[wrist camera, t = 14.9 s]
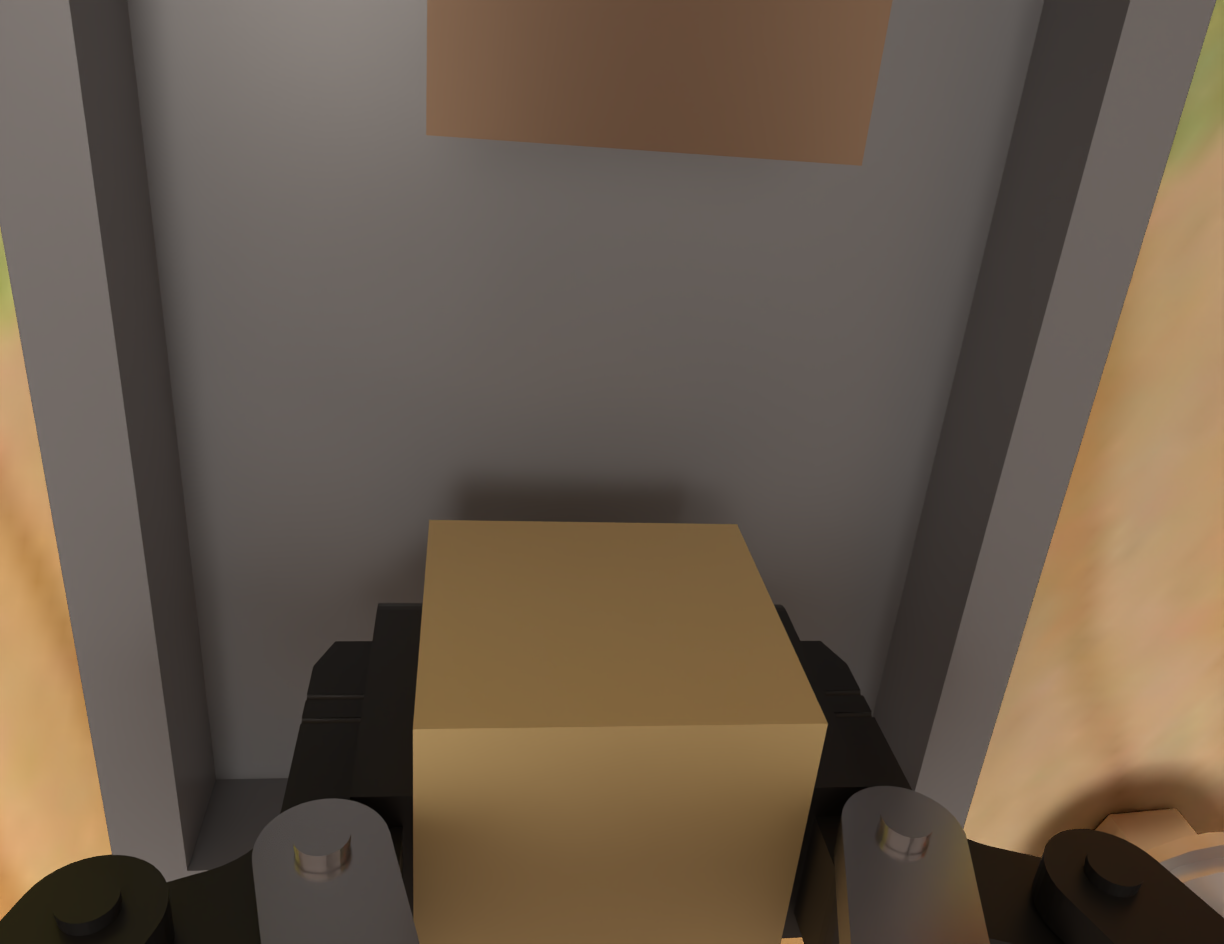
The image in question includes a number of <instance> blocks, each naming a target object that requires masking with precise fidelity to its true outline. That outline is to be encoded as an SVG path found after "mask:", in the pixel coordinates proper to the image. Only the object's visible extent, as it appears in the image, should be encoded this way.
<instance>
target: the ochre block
mask: <svg viewBox="0 0 1224 944" xmlns="http://www.w3.org/2000/svg"><path fill="white" fill-rule="evenodd" d="M827 726H828V723H827V720H826V718H825V716H824V714H823V712H822V709H821V707H820V705H819V703H818V701H817V698H816V696H815V694H814V692H813V690H812V687H811V685H810V683H809V681H808V679H807V677H806V674H805V672H804V670H803V668H802V666H801V663H800V661H799V659H798V657H797V655H796V652H795V650H794V648H793V646H792V644H791V641H790V639H789V637H788V635H787V633H786V630H785V628H784V626H783V624H782V622H781V620H780V617H779V615H778V613H777V611H776V609H775V606H774V604H773V602H772V600H771V598H770V595H769V593H768V591H767V589H766V587H765V584H764V582H763V580H762V578H761V576H760V573H759V571H758V569H757V567H756V565H755V562H754V560H753V558H752V556H751V554H750V552H749V549H748V547H747V545H746V543H745V541H744V538H743V536H742V534H741V532H740V530H739V527H738V525H737V524H687V523H615V522H543V521H472V520H429V530H428V543H427V556H426V569H425V581H424V594H423V607H422V619H421V632H420V645H419V658H418V670H417V683H416V696H415V709H414V721H413V920H414V924H415V928H416V932H417V935H418V939H419V943H420V944H781V939H782V934H783V930H784V925H785V920H786V916H787V911H788V907H789V902H790V897H791V893H792V888H793V883H794V879H795V874H796V869H797V865H798V860H799V856H800V851H801V846H802V842H803V837H804V832H805V828H806V823H807V818H808V814H809V809H810V805H811V800H812V795H813V791H814V786H815V781H816V777H817V772H818V768H819V763H820V758H821V754H822V749H823V744H824V740H825V735H826V730H827Z"/></svg>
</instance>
